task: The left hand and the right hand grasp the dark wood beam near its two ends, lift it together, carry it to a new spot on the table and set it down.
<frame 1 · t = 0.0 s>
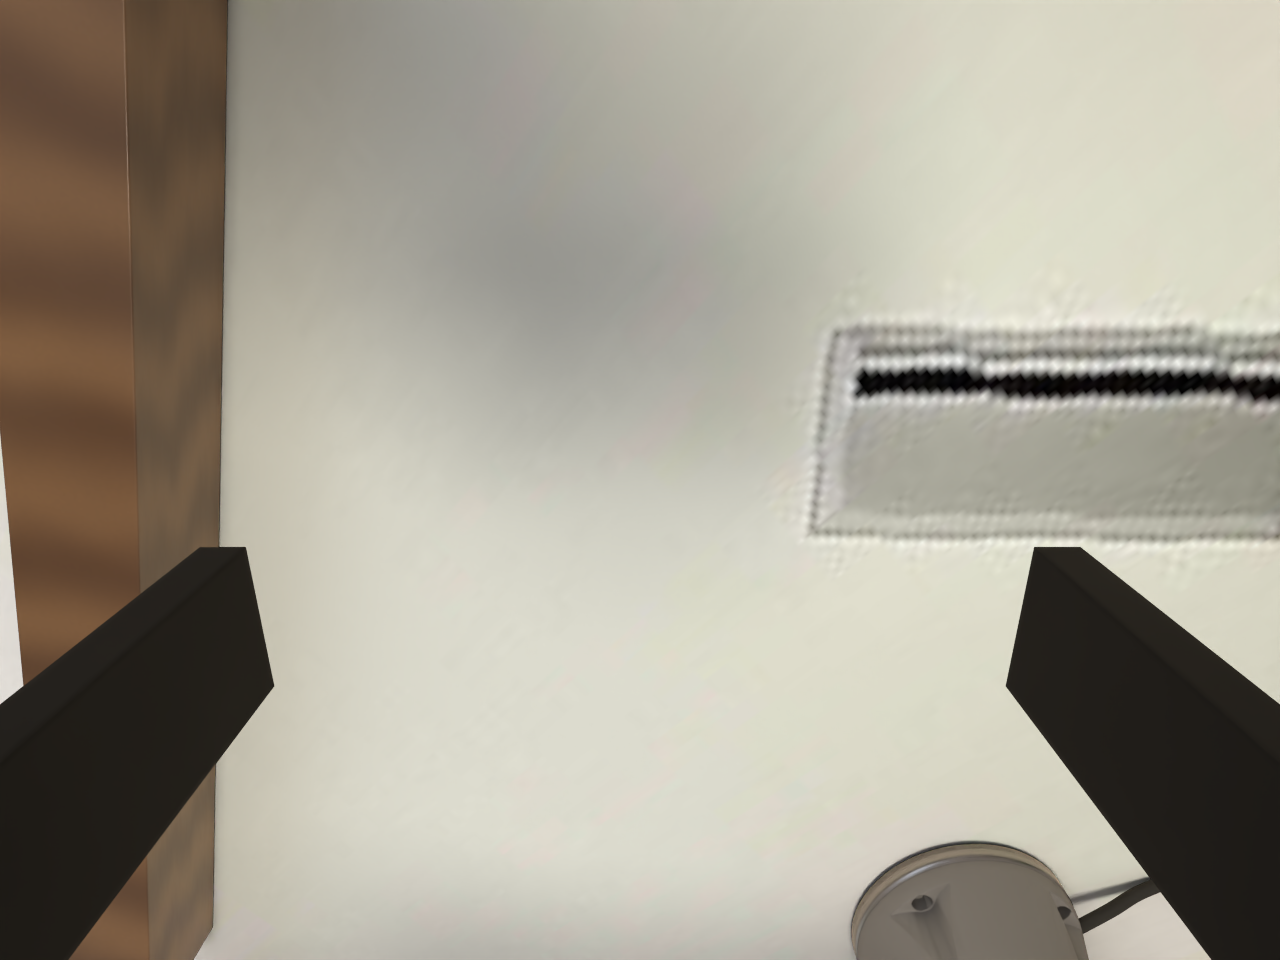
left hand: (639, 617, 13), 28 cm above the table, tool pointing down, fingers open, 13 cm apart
beam: (166, 508, 42), on the table
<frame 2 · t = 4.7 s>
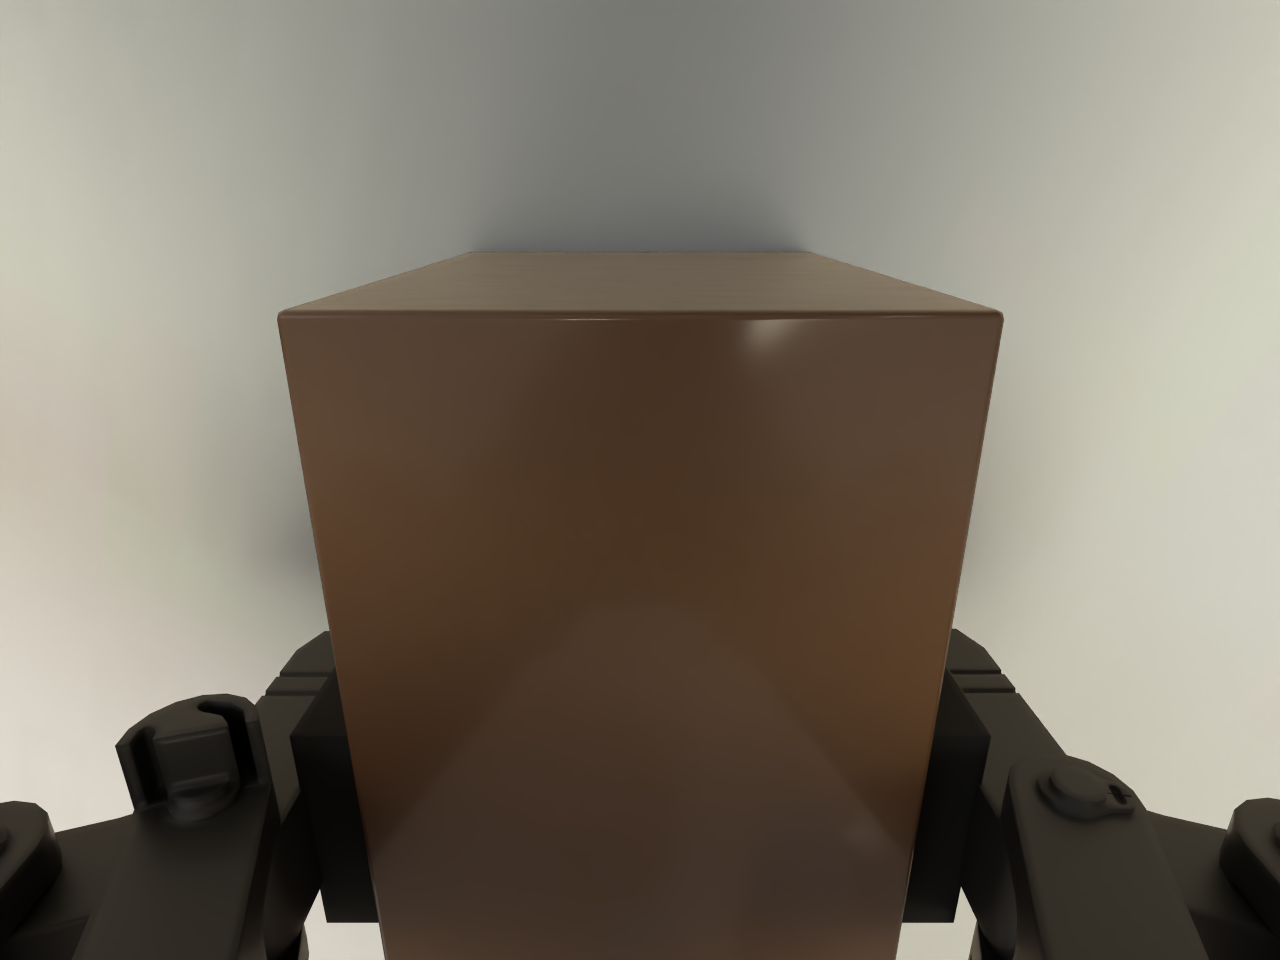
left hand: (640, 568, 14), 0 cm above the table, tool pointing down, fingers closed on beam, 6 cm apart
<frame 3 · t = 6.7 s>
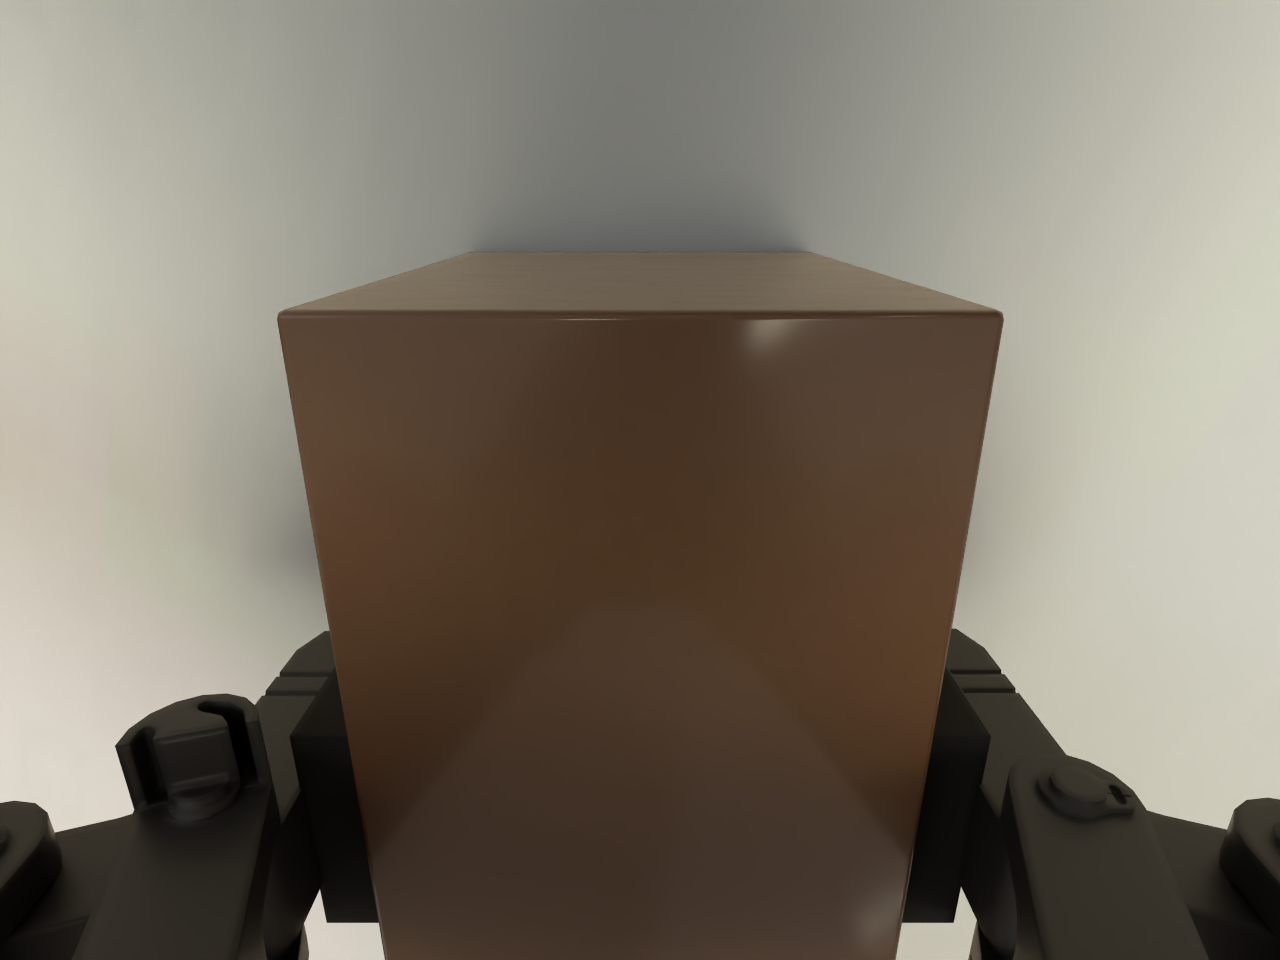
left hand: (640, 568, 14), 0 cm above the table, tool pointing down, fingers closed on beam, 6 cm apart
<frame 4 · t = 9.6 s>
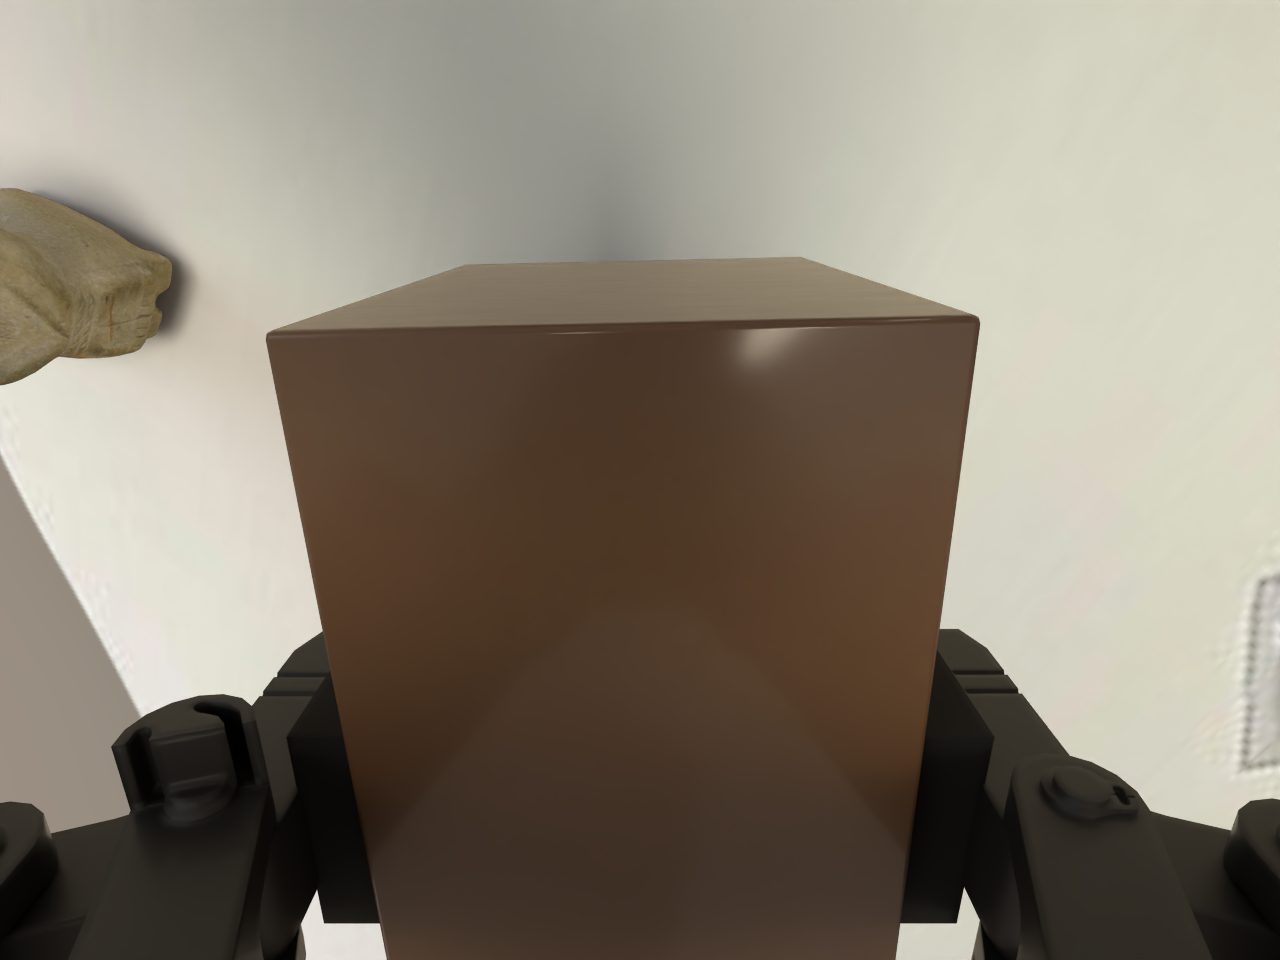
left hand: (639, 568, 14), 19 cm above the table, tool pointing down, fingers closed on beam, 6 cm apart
sculpture: (106, 270, 31), on the table
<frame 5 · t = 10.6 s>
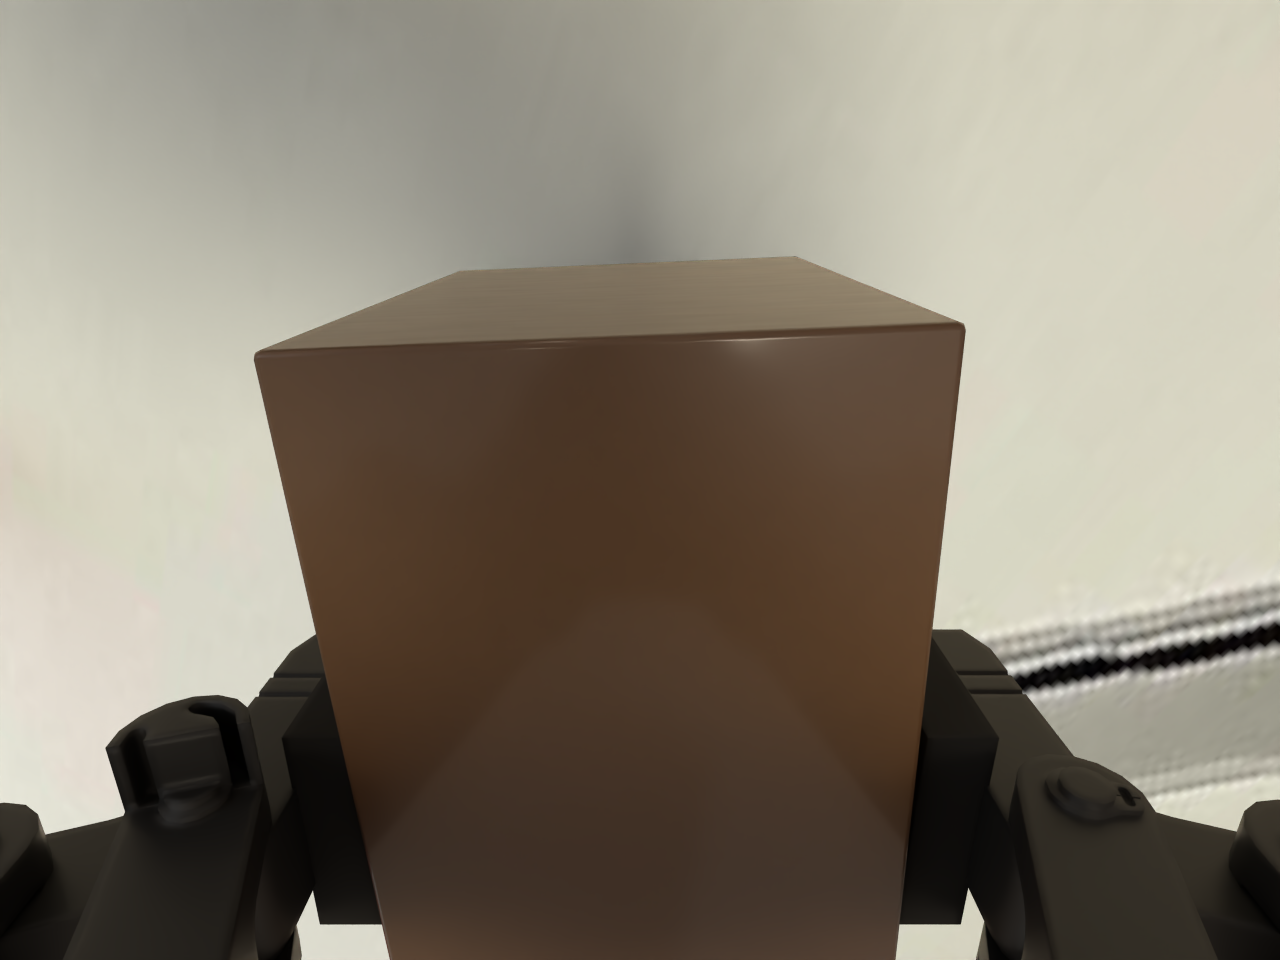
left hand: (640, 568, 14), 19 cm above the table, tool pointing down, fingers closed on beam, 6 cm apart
when the left hand's fingers open (2 cm above the table, at t = 14.5 s): beam stays where it is, on the table.
when the right hand's fingers open (1 cm above the table, at t = 14.5 s): beam stays where it is, on the table.
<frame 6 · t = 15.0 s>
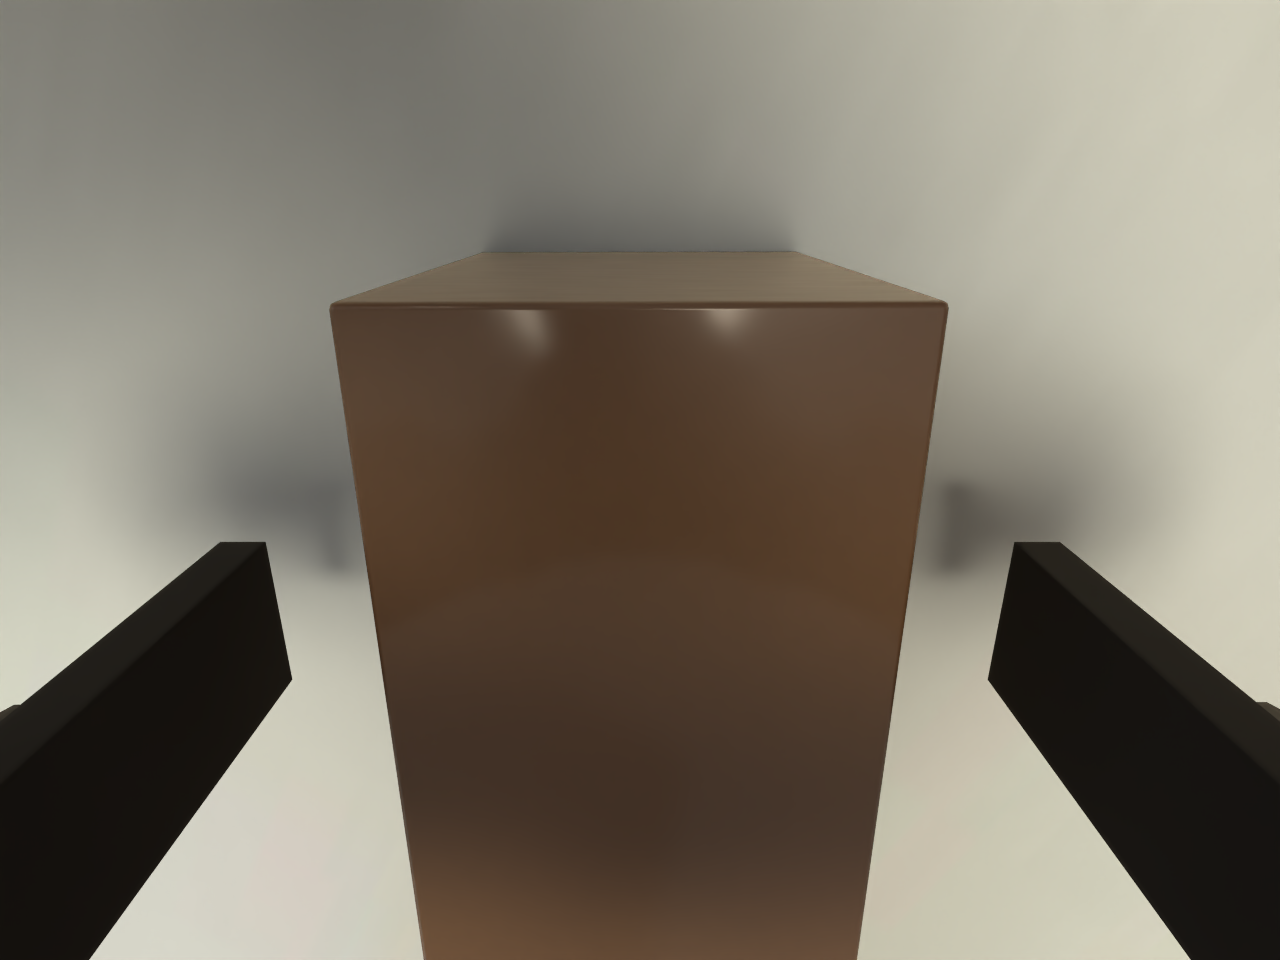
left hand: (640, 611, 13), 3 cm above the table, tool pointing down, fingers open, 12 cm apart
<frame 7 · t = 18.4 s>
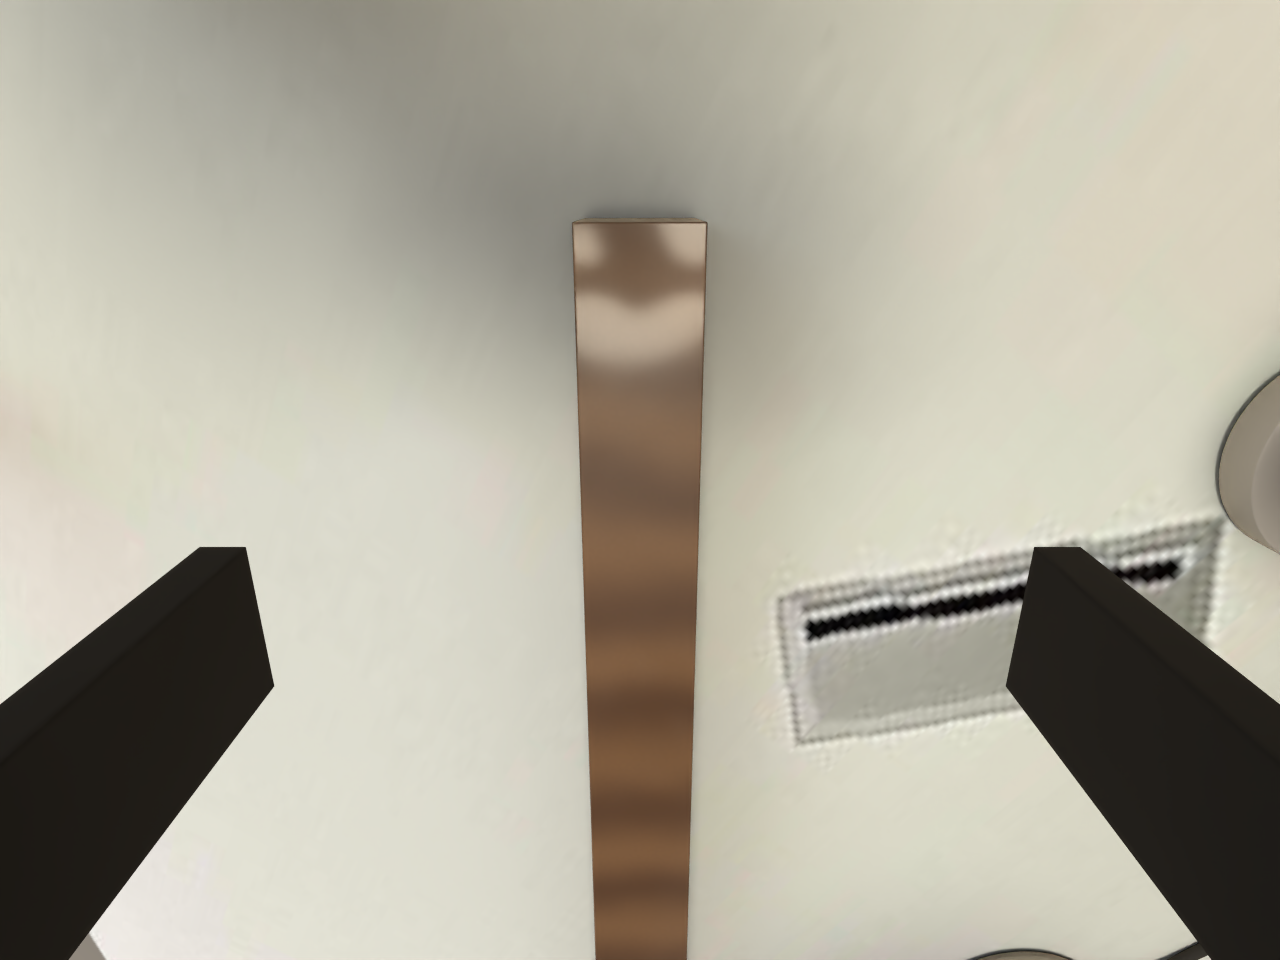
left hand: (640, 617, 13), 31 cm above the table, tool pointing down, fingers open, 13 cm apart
beam: (640, 727, 51), on the table
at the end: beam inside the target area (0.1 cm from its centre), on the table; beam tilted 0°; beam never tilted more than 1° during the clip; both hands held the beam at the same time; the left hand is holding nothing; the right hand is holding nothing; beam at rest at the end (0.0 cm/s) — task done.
